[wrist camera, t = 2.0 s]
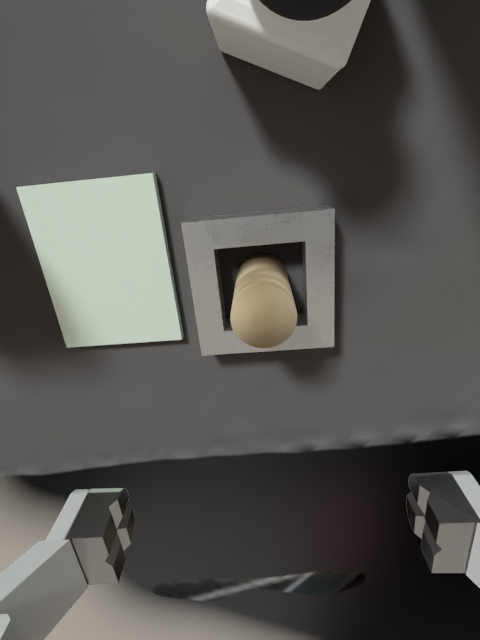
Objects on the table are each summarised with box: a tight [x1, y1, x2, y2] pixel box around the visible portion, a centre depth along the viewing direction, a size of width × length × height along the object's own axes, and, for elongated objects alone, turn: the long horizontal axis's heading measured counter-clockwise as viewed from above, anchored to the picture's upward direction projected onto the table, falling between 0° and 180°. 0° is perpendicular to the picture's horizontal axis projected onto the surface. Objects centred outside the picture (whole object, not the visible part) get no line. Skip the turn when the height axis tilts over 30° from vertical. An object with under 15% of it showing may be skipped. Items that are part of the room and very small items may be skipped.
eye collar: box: [181, 204, 335, 356], centre depth 29 cm, size 10×10×2 cm
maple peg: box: [230, 253, 297, 348], centre depth 26 cm, size 4×4×8 cm
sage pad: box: [16, 173, 184, 348], centre depth 30 cm, size 10×13×1 cm
